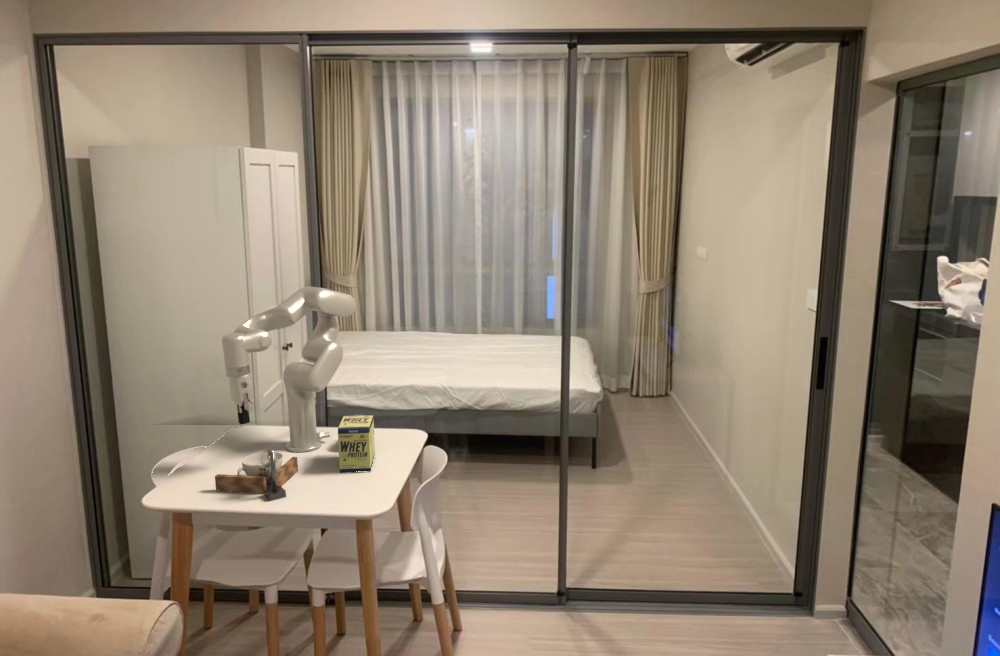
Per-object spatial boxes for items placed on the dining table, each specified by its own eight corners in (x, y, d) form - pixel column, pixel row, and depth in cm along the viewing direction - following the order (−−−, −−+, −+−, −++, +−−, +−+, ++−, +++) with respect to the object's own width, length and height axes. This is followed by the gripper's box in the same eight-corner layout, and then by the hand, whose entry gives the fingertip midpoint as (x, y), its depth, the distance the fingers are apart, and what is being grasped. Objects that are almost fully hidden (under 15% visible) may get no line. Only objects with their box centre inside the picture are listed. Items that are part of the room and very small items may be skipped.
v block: (296, 470, 239) (296, 456, 238) (311, 481, 230) (310, 467, 229) (215, 490, 224) (213, 475, 223) (227, 503, 214) (225, 487, 213)
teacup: (272, 470, 239) (270, 447, 238) (291, 480, 231) (290, 457, 229) (229, 483, 228) (227, 460, 227) (248, 494, 220) (246, 470, 219)
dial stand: (279, 490, 223) (276, 447, 220) (286, 496, 218) (283, 453, 216) (262, 494, 220) (259, 451, 217) (269, 501, 215) (266, 457, 213)
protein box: (339, 473, 236) (337, 428, 233) (345, 456, 252) (343, 414, 249) (371, 472, 237) (369, 427, 234) (375, 455, 252) (373, 413, 250)
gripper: (256, 372, 231) (263, 426, 235) (242, 363, 243) (248, 414, 247) (233, 377, 227) (240, 431, 231) (219, 368, 238) (226, 419, 243)
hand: (244, 422), depth 239 cm, fingers closed
